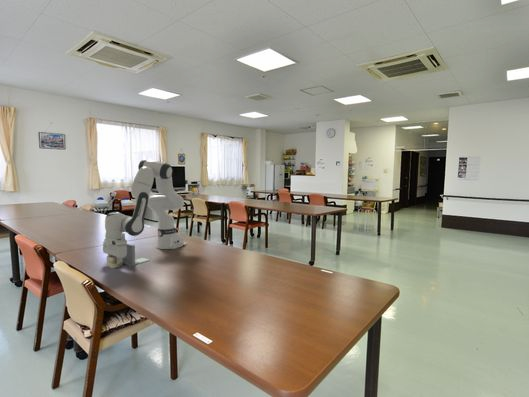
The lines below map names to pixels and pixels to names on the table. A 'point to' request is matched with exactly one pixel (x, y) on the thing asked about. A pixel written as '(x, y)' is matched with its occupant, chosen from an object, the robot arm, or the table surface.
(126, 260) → the screen
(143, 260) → the coaster
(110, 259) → the letter cube
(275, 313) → the table surface
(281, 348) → the table surface
